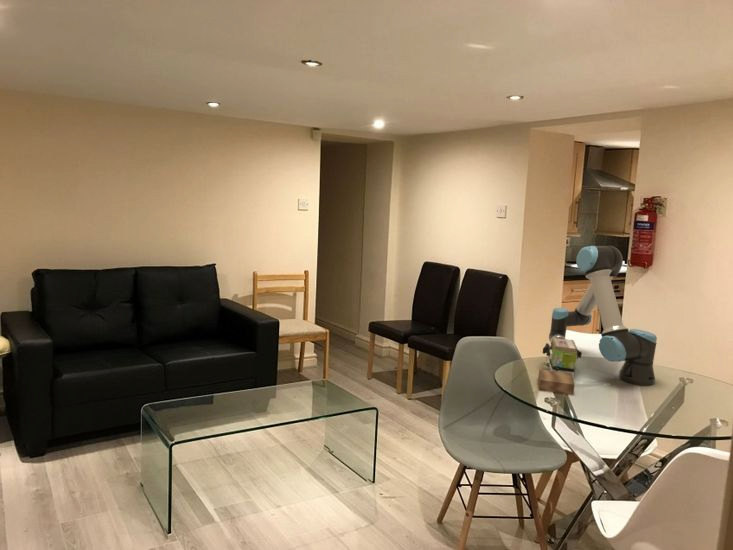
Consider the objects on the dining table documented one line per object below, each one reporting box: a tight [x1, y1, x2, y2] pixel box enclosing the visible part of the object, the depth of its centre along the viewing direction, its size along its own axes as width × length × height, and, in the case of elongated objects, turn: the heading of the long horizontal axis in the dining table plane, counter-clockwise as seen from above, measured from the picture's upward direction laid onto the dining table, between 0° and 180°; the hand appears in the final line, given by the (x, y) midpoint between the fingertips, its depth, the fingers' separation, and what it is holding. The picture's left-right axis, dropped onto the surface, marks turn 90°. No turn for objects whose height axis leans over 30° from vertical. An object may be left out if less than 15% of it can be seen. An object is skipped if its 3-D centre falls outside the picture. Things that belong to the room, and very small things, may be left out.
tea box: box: [548, 338, 578, 379], centre depth 273 cm, size 15×10×15 cm, turn 168°
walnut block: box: [537, 369, 575, 396], centre depth 258 cm, size 14×14×5 cm
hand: (563, 357), depth 270 cm, fingers closed on tea box, 10 cm apart
